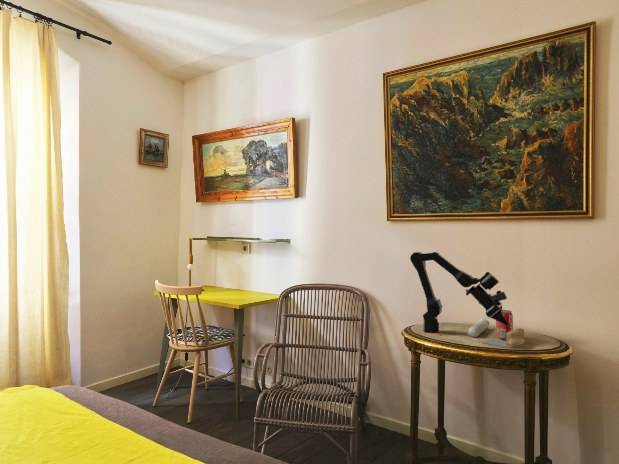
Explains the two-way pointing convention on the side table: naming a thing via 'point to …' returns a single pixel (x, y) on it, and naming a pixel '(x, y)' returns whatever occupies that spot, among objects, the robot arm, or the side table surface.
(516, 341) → the backstop
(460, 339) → the side table surface
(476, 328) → the tube
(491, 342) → the mat
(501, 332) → the soda can
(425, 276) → the robot arm
